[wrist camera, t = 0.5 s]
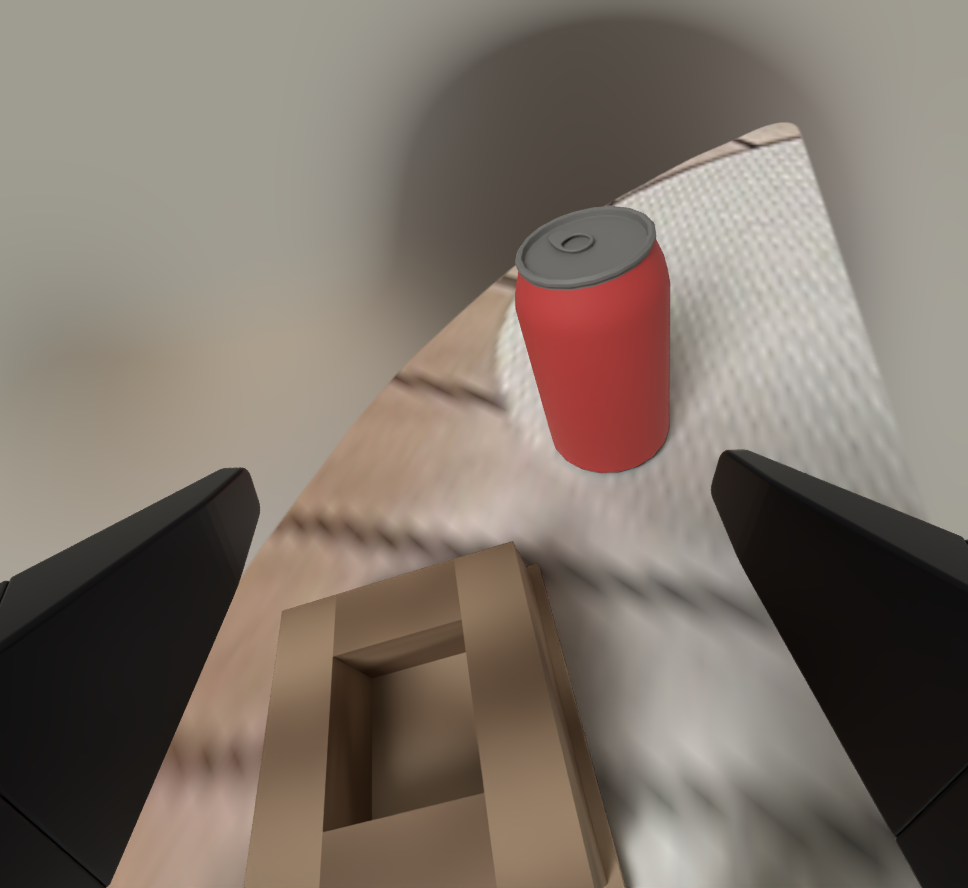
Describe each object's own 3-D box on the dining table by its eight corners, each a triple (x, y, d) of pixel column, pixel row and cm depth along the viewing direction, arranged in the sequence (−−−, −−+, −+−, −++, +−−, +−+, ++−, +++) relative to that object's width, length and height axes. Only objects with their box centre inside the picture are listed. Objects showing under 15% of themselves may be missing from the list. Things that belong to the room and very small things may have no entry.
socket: (629, 900, 15) (620, 914, 12) (295, 971, 16) (213, 999, 13) (540, 568, 23) (521, 527, 20) (321, 632, 24) (273, 603, 22)
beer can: (607, 377, 30) (583, 189, 21) (695, 426, 26) (710, 214, 17) (531, 438, 29) (472, 263, 20) (610, 500, 25) (579, 311, 16)
